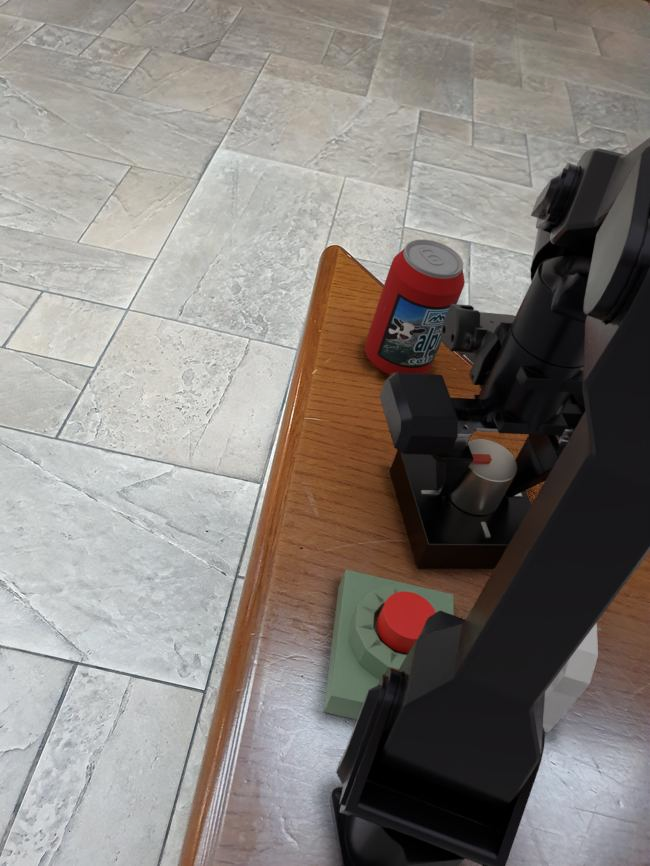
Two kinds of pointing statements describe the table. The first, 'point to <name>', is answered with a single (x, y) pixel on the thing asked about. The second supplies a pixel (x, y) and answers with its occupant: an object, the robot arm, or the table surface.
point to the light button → (403, 620)
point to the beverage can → (414, 307)
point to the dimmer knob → (484, 478)
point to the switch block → (365, 639)
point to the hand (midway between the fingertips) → (473, 492)
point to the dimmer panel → (450, 519)
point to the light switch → (571, 680)
